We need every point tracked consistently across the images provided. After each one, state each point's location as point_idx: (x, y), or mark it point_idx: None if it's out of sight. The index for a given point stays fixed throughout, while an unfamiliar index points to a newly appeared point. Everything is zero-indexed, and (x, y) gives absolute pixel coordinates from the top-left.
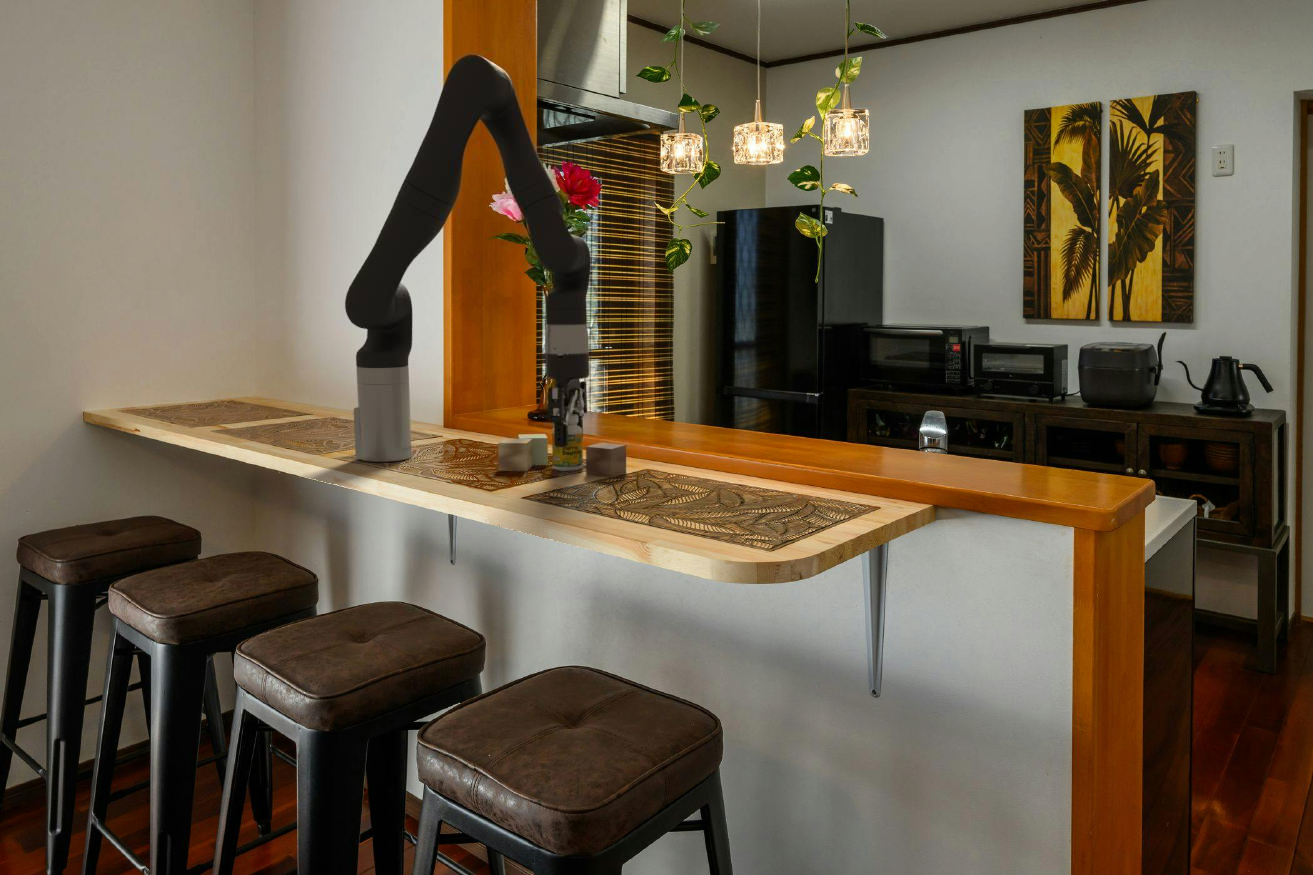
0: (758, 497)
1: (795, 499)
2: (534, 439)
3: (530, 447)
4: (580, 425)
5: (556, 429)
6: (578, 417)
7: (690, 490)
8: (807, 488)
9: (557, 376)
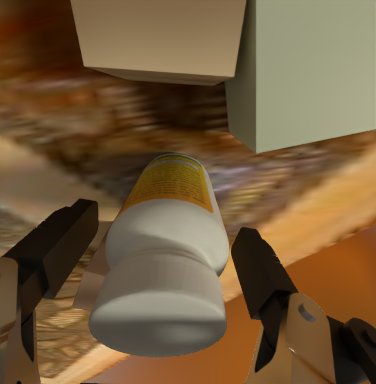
0: (48, 347)
1: (54, 358)
2: (253, 89)
3: (189, 77)
4: (243, 289)
5: (15, 252)
6: (264, 320)
7: (53, 317)
8: (102, 363)
9: None
